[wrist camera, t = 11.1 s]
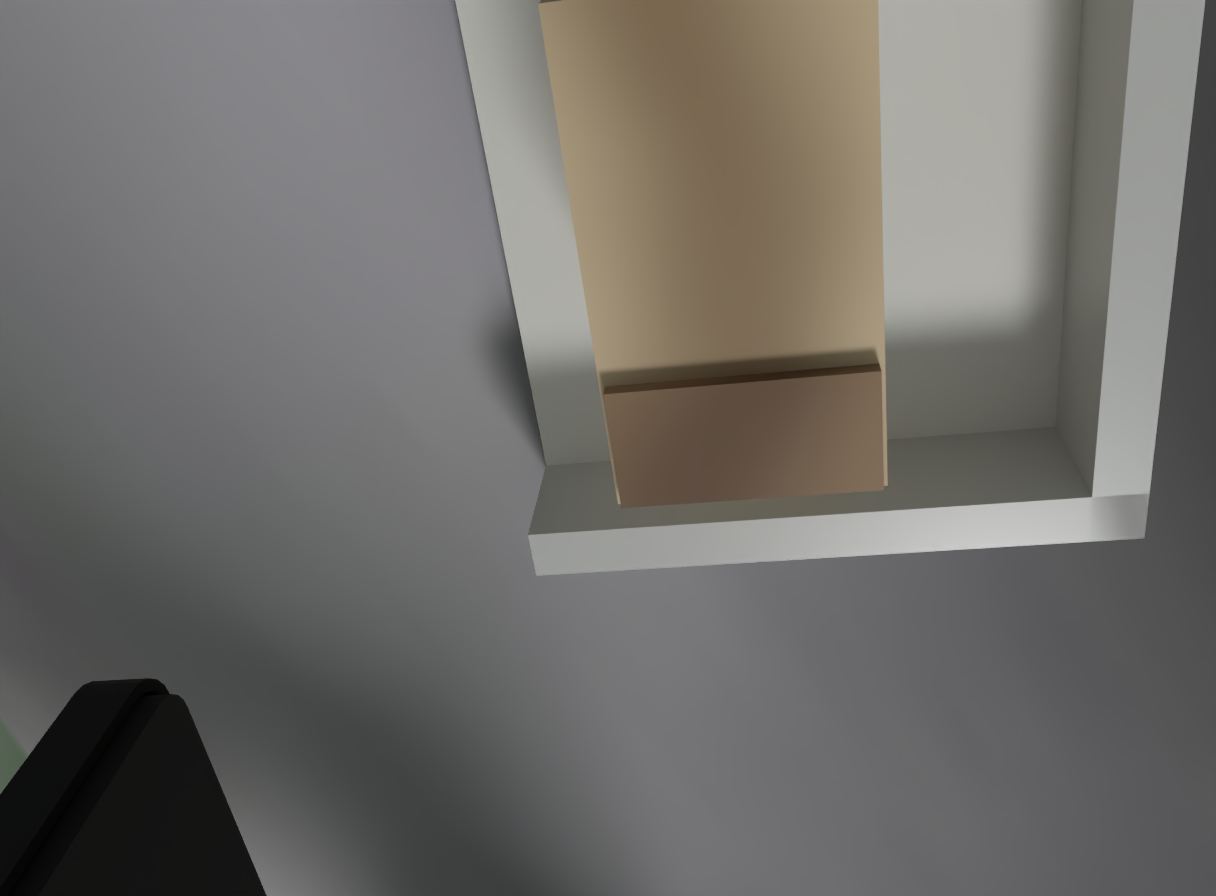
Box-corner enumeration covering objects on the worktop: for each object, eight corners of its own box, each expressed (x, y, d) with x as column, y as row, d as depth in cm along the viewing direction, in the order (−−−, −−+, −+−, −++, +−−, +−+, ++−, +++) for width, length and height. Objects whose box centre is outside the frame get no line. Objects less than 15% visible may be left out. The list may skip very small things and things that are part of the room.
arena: (1093, 448, 29) (1143, 538, 25) (557, 488, 31) (536, 575, 27) (1150, -230, 21) (1232, -234, 18) (440, -119, 23) (392, -103, 20)
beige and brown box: (835, -88, 22) (879, -40, 16) (851, 328, 27) (889, 494, 20) (586, -53, 23) (535, 7, 17) (641, 347, 27) (616, 513, 21)
